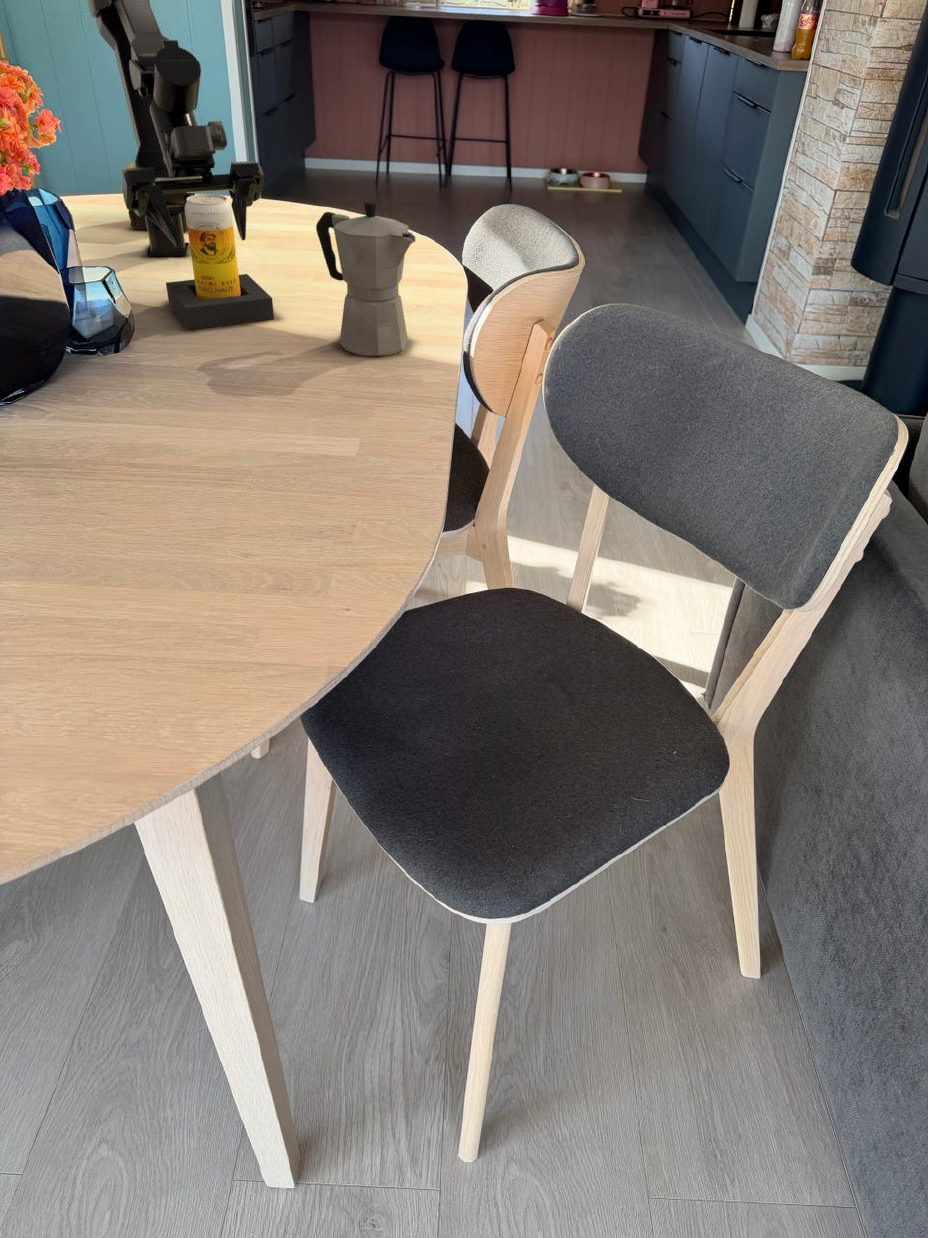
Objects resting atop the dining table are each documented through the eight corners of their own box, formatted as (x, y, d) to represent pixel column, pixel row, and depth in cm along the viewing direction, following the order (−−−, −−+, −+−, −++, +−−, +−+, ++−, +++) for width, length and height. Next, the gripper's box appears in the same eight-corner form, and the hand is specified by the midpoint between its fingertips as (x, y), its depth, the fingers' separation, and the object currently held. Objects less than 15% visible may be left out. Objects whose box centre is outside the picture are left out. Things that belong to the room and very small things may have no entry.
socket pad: (168, 303, 131) (165, 282, 129) (249, 293, 136) (247, 273, 134) (189, 329, 123) (186, 307, 121) (274, 318, 127) (272, 297, 126)
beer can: (198, 318, 126) (182, 204, 117) (199, 304, 131) (184, 193, 122) (242, 317, 128) (229, 203, 118) (242, 303, 132) (230, 193, 123)
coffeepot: (434, 345, 121) (436, 202, 111) (392, 366, 115) (390, 216, 104) (345, 321, 128) (339, 183, 117) (301, 339, 121) (290, 195, 111)
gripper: (109, 99, 114) (143, 212, 113) (253, 94, 121) (286, 201, 120) (110, 155, 124) (141, 260, 123) (242, 148, 131) (273, 247, 130)
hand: (211, 241), depth 124 cm, fingers open, 9 cm apart
